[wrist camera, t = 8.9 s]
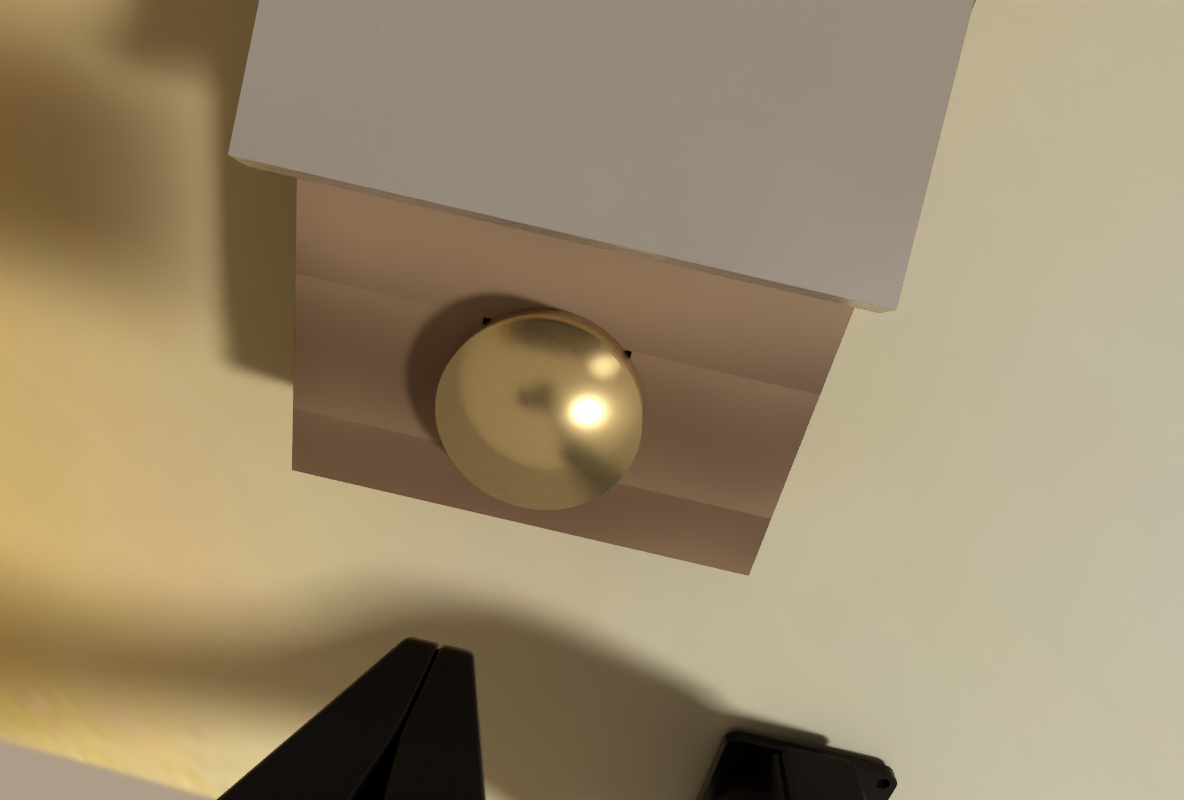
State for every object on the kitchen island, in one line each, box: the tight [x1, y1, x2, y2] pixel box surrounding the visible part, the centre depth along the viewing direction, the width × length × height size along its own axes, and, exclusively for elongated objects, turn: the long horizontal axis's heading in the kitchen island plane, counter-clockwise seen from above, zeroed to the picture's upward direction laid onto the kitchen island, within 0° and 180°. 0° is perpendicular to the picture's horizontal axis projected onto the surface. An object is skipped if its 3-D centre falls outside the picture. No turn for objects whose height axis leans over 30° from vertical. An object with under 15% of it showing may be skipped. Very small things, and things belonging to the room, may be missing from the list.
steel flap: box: [228, 0, 974, 313], centre depth 11 cm, size 7×11×1 cm, turn 78°
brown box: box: [292, 0, 976, 576], centre depth 15 cm, size 16×12×5 cm
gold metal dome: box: [435, 308, 643, 510], centre depth 16 cm, size 5×5×5 cm
